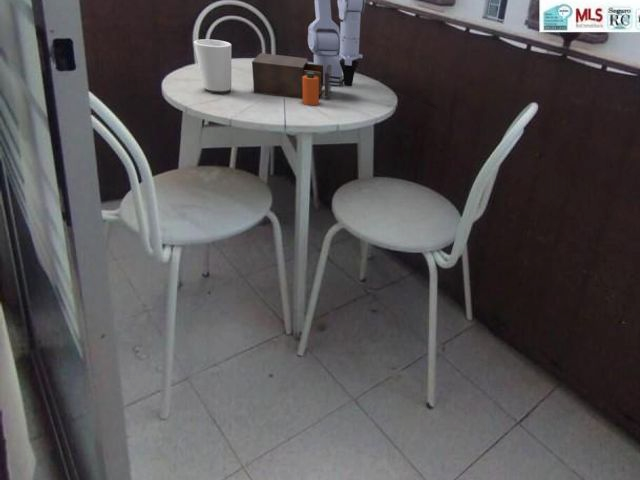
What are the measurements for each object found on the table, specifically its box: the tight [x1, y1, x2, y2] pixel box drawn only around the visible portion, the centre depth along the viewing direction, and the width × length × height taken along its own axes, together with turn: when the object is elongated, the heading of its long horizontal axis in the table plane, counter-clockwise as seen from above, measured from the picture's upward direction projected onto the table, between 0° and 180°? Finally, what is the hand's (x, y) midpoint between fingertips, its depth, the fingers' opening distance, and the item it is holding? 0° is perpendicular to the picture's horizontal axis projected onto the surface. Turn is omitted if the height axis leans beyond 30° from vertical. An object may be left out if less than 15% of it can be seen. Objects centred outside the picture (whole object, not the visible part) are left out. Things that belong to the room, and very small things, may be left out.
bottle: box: [302, 72, 320, 106], centre depth 148 cm, size 5×5×8 cm
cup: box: [193, 38, 232, 95], centre depth 146 cm, size 10×10×13 cm
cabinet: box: [251, 52, 309, 99], centre depth 156 cm, size 15×14×9 cm
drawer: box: [303, 62, 344, 98], centre depth 158 cm, size 18×12×7 cm
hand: (348, 85), depth 160 cm, fingers closed, pressing on drawer
